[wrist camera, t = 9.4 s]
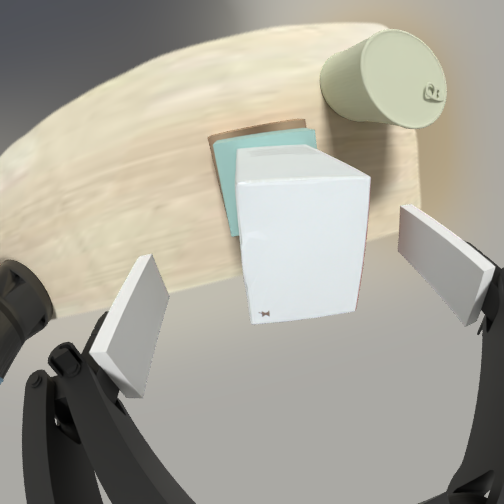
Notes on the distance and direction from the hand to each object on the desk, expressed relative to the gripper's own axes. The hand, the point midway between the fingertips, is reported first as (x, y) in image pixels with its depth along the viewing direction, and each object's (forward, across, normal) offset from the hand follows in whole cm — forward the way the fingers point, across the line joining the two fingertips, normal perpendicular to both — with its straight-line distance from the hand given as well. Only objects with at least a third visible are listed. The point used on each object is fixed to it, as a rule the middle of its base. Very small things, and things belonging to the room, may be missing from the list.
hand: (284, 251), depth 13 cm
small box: (+12, +1, 0) cm, 13 cm away
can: (+20, +14, +9) cm, 26 cm away
